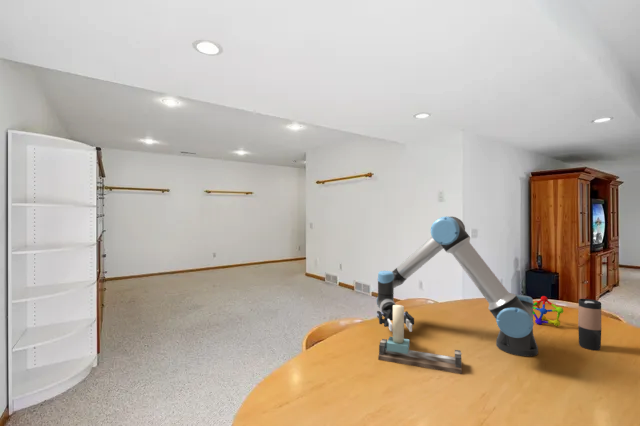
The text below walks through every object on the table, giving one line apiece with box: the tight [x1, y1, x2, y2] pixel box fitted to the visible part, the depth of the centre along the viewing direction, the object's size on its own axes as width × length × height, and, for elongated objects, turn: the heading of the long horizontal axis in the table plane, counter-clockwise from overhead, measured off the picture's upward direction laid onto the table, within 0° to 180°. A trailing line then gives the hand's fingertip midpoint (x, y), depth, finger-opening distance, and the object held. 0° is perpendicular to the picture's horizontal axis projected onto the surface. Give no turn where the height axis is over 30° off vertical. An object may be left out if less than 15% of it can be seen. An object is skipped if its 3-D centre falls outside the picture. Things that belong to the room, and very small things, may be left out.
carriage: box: [387, 304, 410, 354], centre depth 126 cm, size 8×7×17 cm
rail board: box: [377, 338, 463, 375], centre depth 123 cm, size 30×10×5 cm, turn 69°
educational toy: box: [533, 295, 564, 327], centre depth 164 cm, size 16×13×15 cm
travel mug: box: [577, 298, 602, 352], centre depth 136 cm, size 8×8×20 cm
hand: (401, 328), depth 121 cm, fingers open, 7 cm apart
